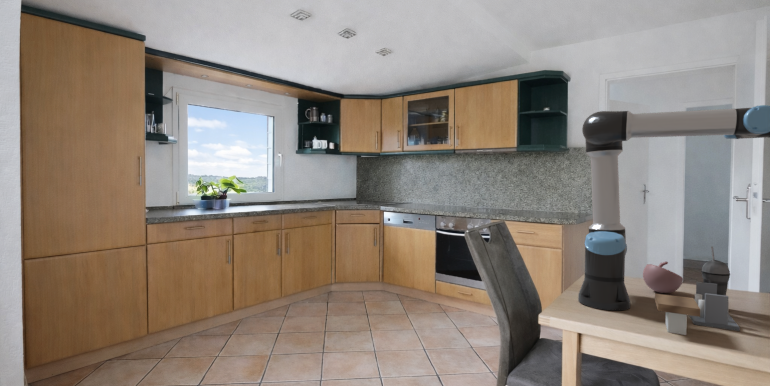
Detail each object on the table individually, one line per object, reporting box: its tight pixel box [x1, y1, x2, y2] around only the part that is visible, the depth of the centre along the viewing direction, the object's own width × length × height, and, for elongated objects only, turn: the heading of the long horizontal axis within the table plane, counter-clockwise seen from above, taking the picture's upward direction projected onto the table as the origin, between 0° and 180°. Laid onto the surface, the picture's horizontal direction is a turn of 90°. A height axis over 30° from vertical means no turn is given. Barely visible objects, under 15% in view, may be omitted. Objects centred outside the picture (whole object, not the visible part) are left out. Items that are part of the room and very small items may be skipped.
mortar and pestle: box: [642, 261, 684, 294], centre depth 146 cm, size 12×12×11 cm
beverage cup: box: [700, 245, 731, 296], centre depth 128 cm, size 7×7×20 cm
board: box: [654, 293, 700, 317], centre depth 110 cm, size 9×11×2 cm
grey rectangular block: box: [664, 312, 688, 336], centre depth 110 cm, size 4×7×6 cm, turn 149°
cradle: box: [688, 281, 741, 332], centre depth 119 cm, size 10×17×9 cm, turn 149°
